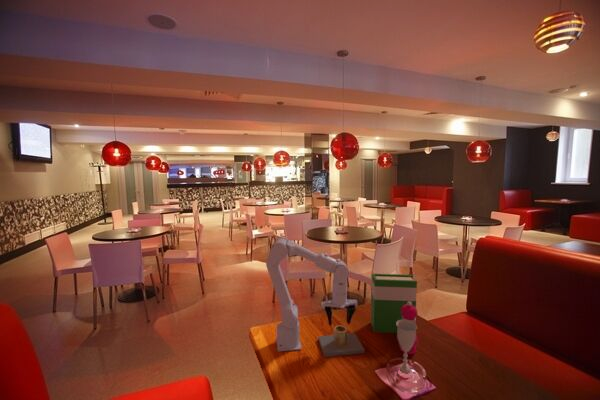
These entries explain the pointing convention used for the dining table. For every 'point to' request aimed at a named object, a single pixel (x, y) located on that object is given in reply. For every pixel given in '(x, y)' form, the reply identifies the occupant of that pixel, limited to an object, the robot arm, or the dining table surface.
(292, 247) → the robot arm
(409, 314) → the pepper mill
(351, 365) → the dining table surface
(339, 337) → the wooden collar
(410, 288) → the hardback book
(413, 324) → the chalice
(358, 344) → the pin board
